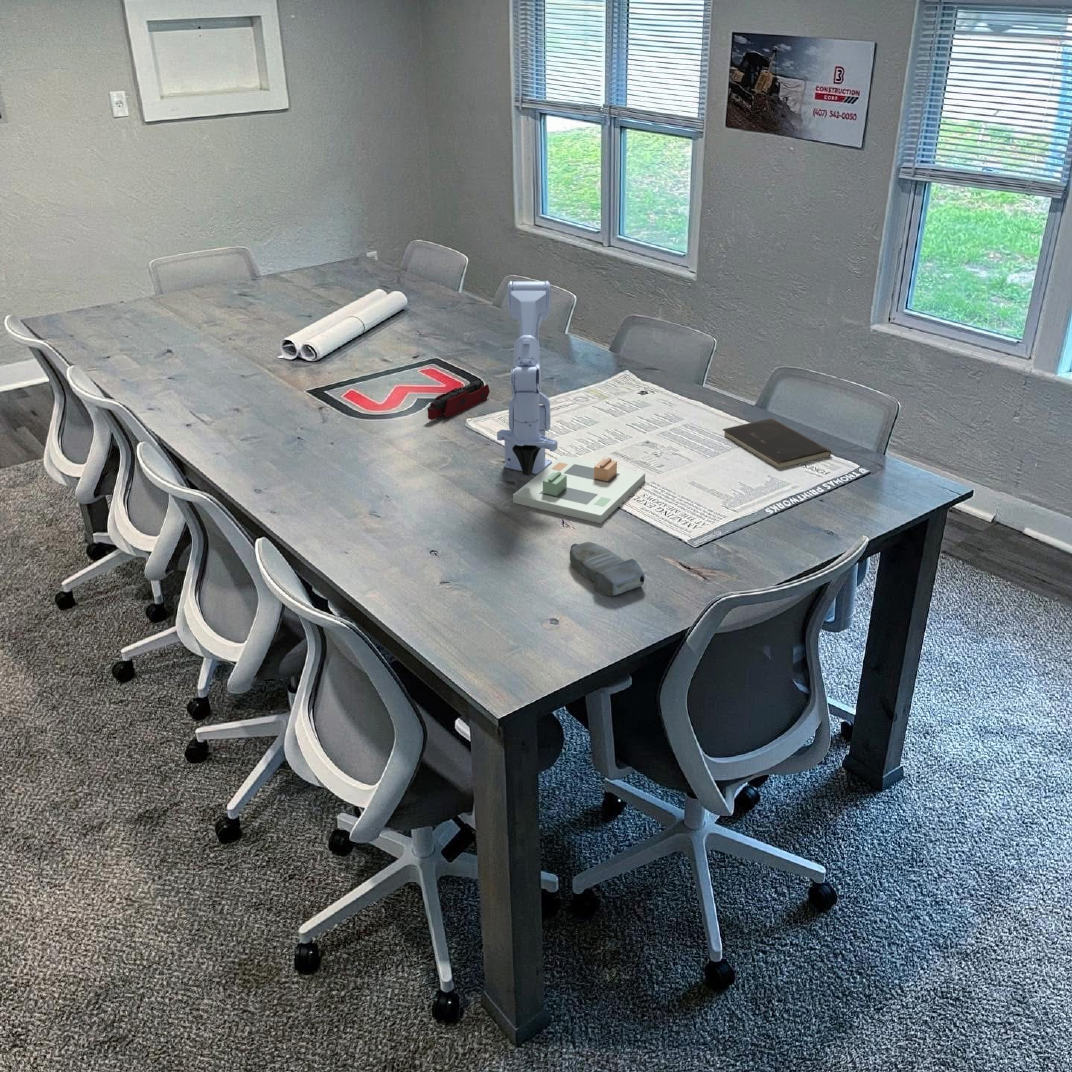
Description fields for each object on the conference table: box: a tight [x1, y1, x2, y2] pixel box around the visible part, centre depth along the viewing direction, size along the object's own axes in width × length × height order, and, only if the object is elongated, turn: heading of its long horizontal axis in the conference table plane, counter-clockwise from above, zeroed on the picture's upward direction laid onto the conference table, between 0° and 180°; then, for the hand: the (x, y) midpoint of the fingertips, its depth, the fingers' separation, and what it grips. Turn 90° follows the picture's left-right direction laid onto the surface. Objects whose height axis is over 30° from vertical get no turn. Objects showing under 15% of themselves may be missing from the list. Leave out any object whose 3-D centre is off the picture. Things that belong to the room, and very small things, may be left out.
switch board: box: [512, 454, 646, 524], centre depth 243 cm, size 22×24×2 cm
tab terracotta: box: [594, 457, 618, 481], centre depth 245 cm, size 4×5×4 cm
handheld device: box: [569, 541, 646, 596], centre depth 211 cm, size 10×20×5 cm, turn 33°
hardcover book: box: [722, 417, 832, 469], centre depth 264 cm, size 16×23×2 cm
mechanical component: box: [426, 380, 491, 421], centre depth 288 cm, size 23×4×6 cm, turn 144°
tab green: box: [543, 472, 567, 496], centre depth 238 cm, size 4×5×4 cm
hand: (527, 473), depth 241 cm, fingers closed
